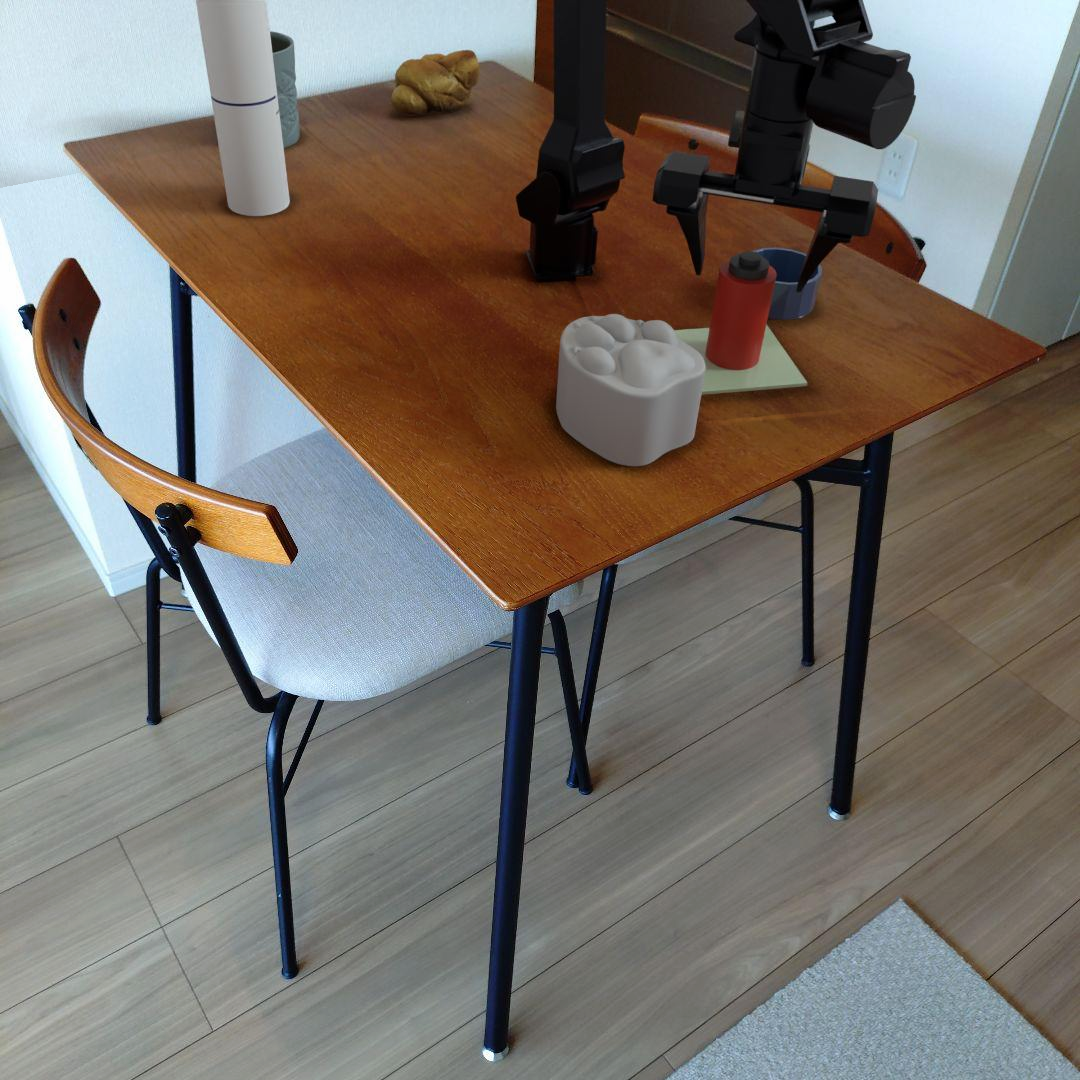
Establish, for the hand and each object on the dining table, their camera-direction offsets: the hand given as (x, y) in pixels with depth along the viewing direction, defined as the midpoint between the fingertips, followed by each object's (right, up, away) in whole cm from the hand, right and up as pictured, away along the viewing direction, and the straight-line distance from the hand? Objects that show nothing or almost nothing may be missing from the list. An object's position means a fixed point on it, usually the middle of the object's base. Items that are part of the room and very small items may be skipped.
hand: (748, 282), depth 99 cm
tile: (0, -7, +6) cm, 9 cm away
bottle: (-1, -6, +5) cm, 8 cm away
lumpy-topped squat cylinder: (-12, -13, -2) cm, 18 cm away
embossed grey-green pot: (-56, +29, +43) cm, 76 cm away
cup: (+6, +1, +15) cm, 16 cm away
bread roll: (-35, +37, +54) cm, 74 cm away
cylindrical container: (-52, +16, +28) cm, 62 cm away
